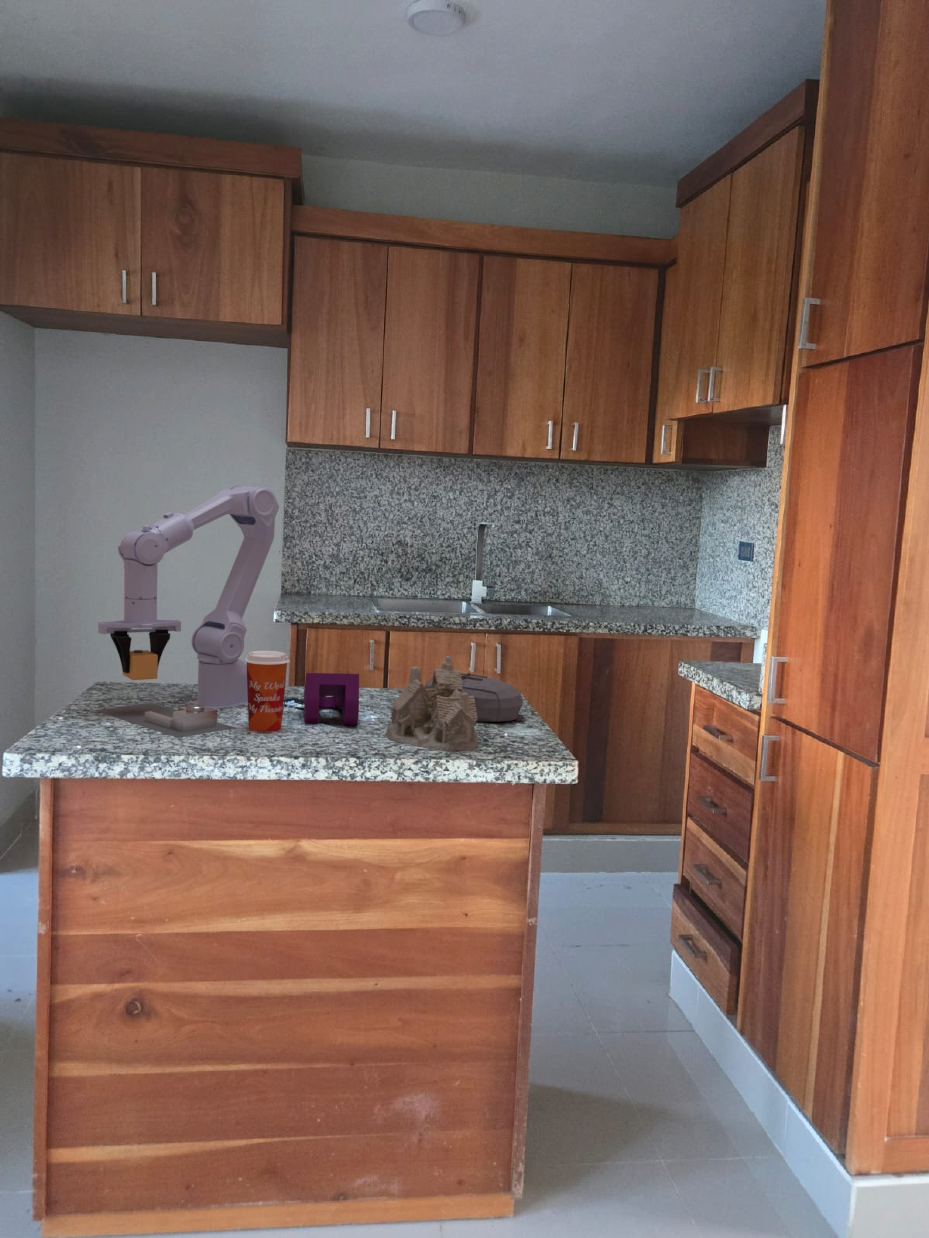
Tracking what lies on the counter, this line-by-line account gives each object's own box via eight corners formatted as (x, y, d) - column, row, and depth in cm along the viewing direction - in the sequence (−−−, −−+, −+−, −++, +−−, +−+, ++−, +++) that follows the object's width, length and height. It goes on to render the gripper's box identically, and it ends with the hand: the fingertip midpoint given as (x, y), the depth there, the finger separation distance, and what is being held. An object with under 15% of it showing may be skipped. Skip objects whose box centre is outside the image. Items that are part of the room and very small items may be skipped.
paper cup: (244, 736, 173) (246, 656, 172) (241, 726, 181) (243, 649, 179) (289, 735, 175) (292, 657, 174) (285, 726, 183) (287, 650, 181)
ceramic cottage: (384, 728, 185) (391, 649, 182) (472, 734, 186) (480, 655, 184) (386, 754, 169) (393, 668, 167) (482, 760, 171) (490, 675, 168)
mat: (151, 705, 194) (151, 702, 194) (236, 731, 177) (236, 727, 177) (94, 713, 185) (94, 710, 185) (177, 740, 168) (177, 737, 168)
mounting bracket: (302, 741, 198) (304, 719, 181) (303, 698, 201) (305, 672, 183) (352, 741, 199) (359, 719, 182) (352, 699, 202) (359, 673, 185)
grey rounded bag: (413, 717, 197) (510, 729, 191) (415, 675, 196) (513, 686, 190) (439, 704, 211) (531, 714, 205) (441, 665, 210) (533, 674, 204)
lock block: (147, 673, 188) (147, 648, 187) (157, 678, 183) (157, 653, 182) (122, 674, 185) (122, 649, 185) (132, 680, 180) (132, 654, 180)
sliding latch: (183, 715, 185) (184, 694, 184) (219, 725, 178) (220, 704, 177) (144, 720, 179) (145, 699, 178) (180, 732, 171) (180, 710, 171)
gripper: (106, 600, 175) (105, 677, 177) (187, 599, 183) (186, 672, 185) (95, 596, 181) (94, 670, 182) (174, 595, 189) (173, 666, 191)
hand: (140, 671), depth 184 cm, fingers closed on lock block, 4 cm apart
